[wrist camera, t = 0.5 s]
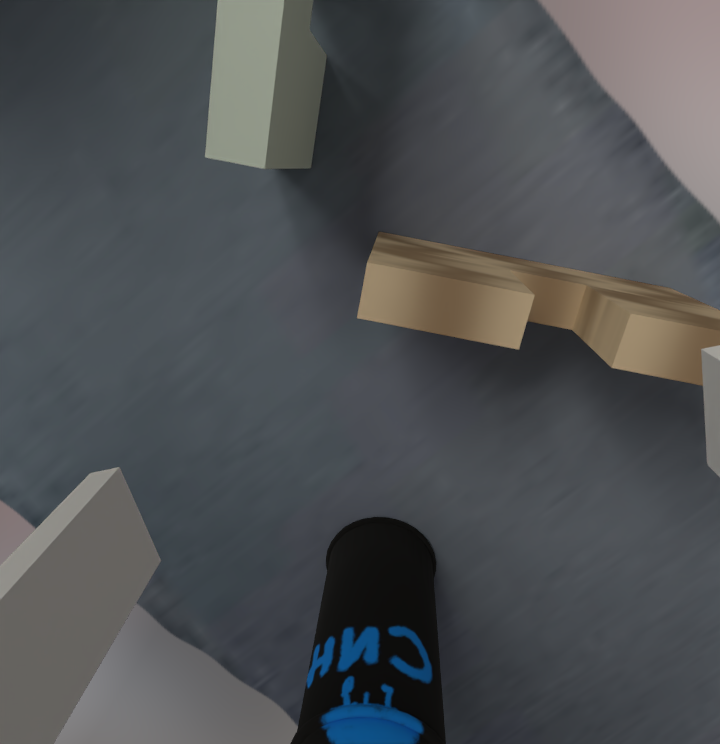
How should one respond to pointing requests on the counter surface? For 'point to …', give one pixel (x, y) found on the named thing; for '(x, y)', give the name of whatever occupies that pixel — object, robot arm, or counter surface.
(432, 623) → the aerosol can
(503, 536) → the counter surface
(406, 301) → the oak slotted board
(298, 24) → the sage slotted plate
